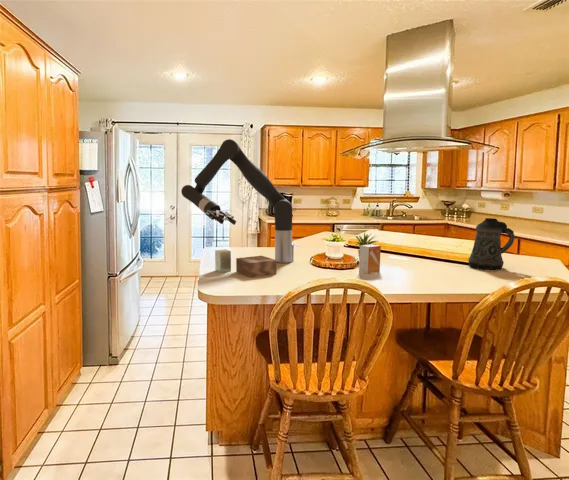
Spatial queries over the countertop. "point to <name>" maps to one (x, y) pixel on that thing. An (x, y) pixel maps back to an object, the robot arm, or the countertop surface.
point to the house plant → (364, 241)
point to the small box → (369, 258)
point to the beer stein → (489, 245)
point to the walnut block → (256, 266)
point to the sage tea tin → (223, 260)
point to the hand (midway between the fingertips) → (229, 222)
